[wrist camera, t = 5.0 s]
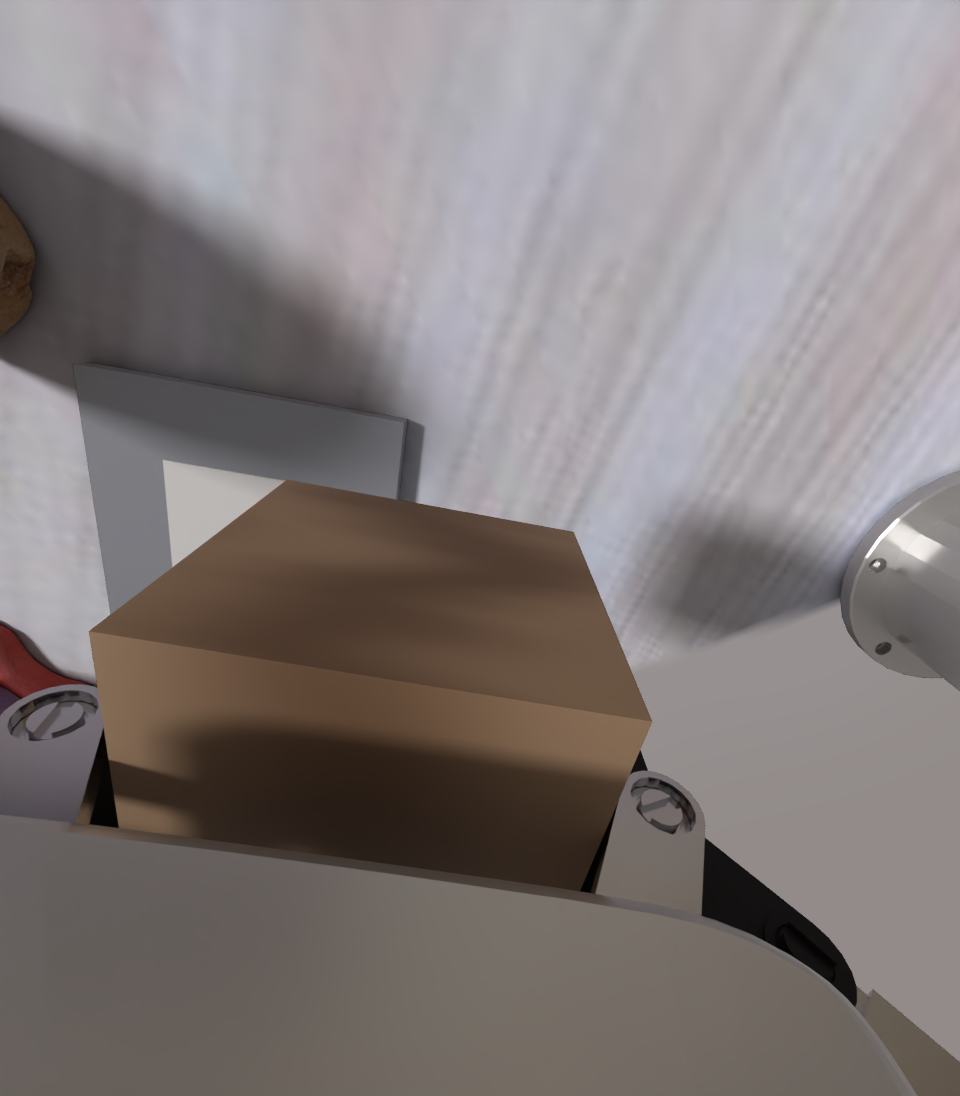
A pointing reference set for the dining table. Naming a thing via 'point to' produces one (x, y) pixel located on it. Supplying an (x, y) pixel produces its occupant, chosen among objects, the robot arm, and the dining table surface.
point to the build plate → (209, 462)
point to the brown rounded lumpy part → (14, 269)
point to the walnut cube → (374, 690)
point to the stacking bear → (22, 672)
